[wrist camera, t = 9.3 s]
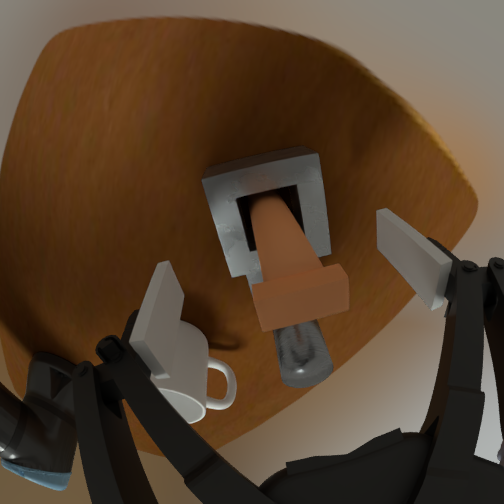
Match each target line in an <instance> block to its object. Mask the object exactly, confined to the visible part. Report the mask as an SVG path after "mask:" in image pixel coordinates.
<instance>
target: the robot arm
mask: <svg viewBox="0 0 504 504" xmlns="http://www.w3.org/2000/svg"><path fill="white" fill-rule="evenodd" d="M376 213H377V249H378V250H379V251H380V252H381V253H382V254H383V255H384V256H385V257H386V259H387V260H388V261H389V262H390V263H391V264H392V265H393V266H394V267H395V268H396V270H397V271H398V272H399V273H400V274H401V275H402V276H403V277H404V279H405V280H406V281H407V282H408V283H409V284H410V286H411V287H412V288H413V289H414V290H415V291H416V293H417V294H418V295H419V296H420V297H421V299H422V300H423V301H424V302H425V303H426V305H427V306H428V307H429V309H430V310H431V311H432V310H434V309H436V308H438V307H441V306H442V304H443V301H444V297H446V299H447V300H448V301H449V302H448V305H447V309H446V312H445V316H444V317H446V324H445V331H444V339H443V345H442V352H441V357H440V363H439V368H438V373H437V377H436V382H435V386H434V390H433V394H432V399H431V402H430V406H429V409H428V412H427V416H426V419H425V421H424V423H423V425H422V427H421V430H420V432H419V433H418V432H406V433H402V432H401V430H400V428H398V429H395V430H393V431H391V432H388V433H386V434H383V435H381V436H378V437H375V438H373V439H372V440H370V441H369V442H367V443H365V444H364V445H362V446H360V447H359V448H357V449H356V450H354V451H352V452H350V453H348V454H345V455H332V456H313V457H309V458H305V459H300V460H296V461H291V462H286V467H287V468H284V469H282V470H280V471H278V472H276V473H275V474H273V475H272V476H270V477H269V478H268V479H266V480H265V481H264V482H263V483H262V484H261V485H260V486H259V487H258V486H256V485H255V484H254V483H253V482H251V481H250V480H249V479H248V478H246V477H245V476H244V475H243V474H241V473H240V472H239V471H238V470H237V469H235V468H234V467H233V466H232V465H231V464H230V463H228V462H227V461H226V460H225V459H224V458H223V457H222V456H221V455H220V454H219V453H217V452H216V451H215V450H214V449H213V448H212V447H211V446H210V445H209V444H208V443H207V442H206V441H205V440H204V439H203V438H202V437H201V436H200V435H199V434H198V433H197V432H196V431H195V430H194V429H193V428H192V427H191V426H190V425H189V424H188V423H187V421H186V420H185V419H184V418H183V417H182V416H181V415H180V414H179V413H178V412H177V411H176V409H175V408H174V407H173V406H172V405H171V404H170V403H169V401H168V400H167V399H166V398H165V397H164V395H163V394H162V393H161V392H160V391H159V389H158V388H157V387H156V386H155V385H154V383H153V382H152V381H151V380H150V376H151V373H152V374H153V375H154V376H155V378H156V379H164V378H171V371H172V365H173V358H174V352H175V346H176V340H177V334H178V328H179V322H180V317H181V311H182V306H183V301H184V293H183V291H182V289H181V287H180V284H179V282H178V280H177V278H176V275H175V273H174V271H173V269H172V266H171V264H170V262H169V260H168V261H164V262H160V263H158V264H157V266H156V269H155V271H154V274H153V276H152V279H151V281H150V284H149V287H148V289H147V292H146V295H145V297H144V300H143V303H142V305H141V308H140V309H139V310H134V312H133V313H132V314H131V315H130V317H129V319H128V321H127V325H126V327H125V329H124V330H125V331H124V332H123V335H122V338H121V340H120V339H119V338H118V337H117V336H116V335H109V336H106V337H105V338H103V339H102V340H101V341H99V343H98V344H97V346H96V349H95V350H96V354H97V355H98V356H99V357H100V359H101V360H102V361H103V362H104V363H102V364H99V365H97V366H93V364H92V363H91V362H89V361H83V362H81V363H79V364H78V365H77V366H75V365H73V364H71V363H70V362H68V361H66V360H64V359H62V358H60V357H58V356H55V355H53V354H49V353H45V352H39V353H36V354H34V356H33V358H32V360H31V361H30V364H29V368H28V369H29V370H28V376H27V386H26V394H25V396H24V399H23V401H21V400H20V399H18V398H17V397H16V396H15V395H14V394H13V393H12V392H11V391H9V390H8V389H7V388H6V387H5V386H4V385H3V384H2V383H1V382H0V457H2V458H1V464H2V466H3V467H5V468H6V469H8V470H10V471H12V472H13V473H15V474H17V475H20V476H22V477H24V478H26V479H28V480H30V481H33V482H35V483H37V484H40V485H43V486H46V487H48V488H51V489H55V490H59V491H60V490H64V489H66V487H67V485H68V481H69V478H70V475H71V474H72V472H71V470H72V465H73V460H74V455H75V451H76V447H77V443H79V449H80V455H81V460H82V465H83V469H84V474H85V478H86V483H87V487H88V491H89V494H90V498H91V501H92V504H158V502H157V499H156V497H155V495H154V493H153V491H152V488H151V486H150V484H149V481H148V479H147V476H146V474H145V471H144V469H143V466H142V464H141V461H140V458H139V456H138V453H137V450H136V447H135V444H134V441H133V438H132V435H131V431H130V428H129V425H128V421H127V418H126V414H125V411H124V407H123V403H122V399H125V400H126V401H127V403H128V404H129V406H130V408H131V409H132V411H133V412H134V414H135V415H136V417H137V418H138V420H139V421H140V423H141V424H142V426H143V427H144V428H145V430H146V431H147V433H148V434H149V435H150V437H151V438H152V440H153V441H154V442H155V444H156V445H157V446H158V447H159V449H160V450H161V451H162V453H163V454H164V455H165V456H166V458H167V459H168V460H169V461H170V462H171V464H172V465H173V466H174V467H175V468H176V469H177V471H178V472H179V473H180V474H181V475H182V477H183V478H184V483H185V484H186V486H187V487H188V488H189V489H190V490H191V492H192V493H193V494H194V495H195V496H196V497H197V498H198V499H199V500H200V501H201V502H202V503H203V504H504V260H503V259H501V258H497V257H494V258H491V259H490V260H489V263H488V267H478V266H477V265H476V264H475V263H474V262H472V261H468V260H467V261H466V260H463V261H460V260H459V259H458V258H457V257H456V256H454V255H453V254H452V253H451V252H450V251H449V250H447V249H446V248H445V247H444V246H442V245H441V244H440V243H439V242H438V241H436V240H434V239H432V238H429V237H428V238H425V237H424V236H423V235H421V234H420V233H419V232H418V231H416V230H415V229H414V228H413V227H411V226H410V225H409V224H407V223H406V222H405V221H403V220H402V219H401V218H399V217H398V216H397V215H395V214H394V213H393V212H391V211H390V210H389V209H387V208H384V209H380V210H376ZM484 328H485V332H486V335H487V339H488V343H489V348H490V352H491V357H492V362H493V367H494V373H495V380H496V387H497V394H498V403H499V414H500V425H501V432H502V438H503V442H502V444H501V448H500V450H499V451H498V455H497V457H498V460H499V461H500V464H497V463H494V462H491V461H489V460H486V459H484V458H481V457H478V456H476V455H474V452H475V448H476V444H477V440H478V436H479V431H480V426H481V421H482V415H483V409H484V402H485V393H484V392H481V379H482V367H483V349H484Z"/></svg>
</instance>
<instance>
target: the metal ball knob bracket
mask: <svg viewBox="0 0 504 504" xmlns="http://www.w3.org/2000/svg"><path fill="white" fill-rule="evenodd" d="M201 180H202V184H203V187H204V190H205V194H206V197H207V200H208V204H209V207H210V210H211V213H212V217H213V220H214V223H215V226H216V229H217V233H218V236H219V239H220V242H221V245H222V248H223V251H224V255H225V258H226V261H227V264H228V267H229V270H230V273H231V276H232V278H233V277H237V276H241V275H246V276H247V280H248V283H249V286H250V290H251V293H252V286H251V285H252V284H257V283H261V282H263V277H262V272H261V267H260V262H259V257H258V252H257V247H256V242H255V237H254V232H253V227H251V228H247V227H246V224H245V220H244V216H243V212H242V208H241V205H240V201H239V197H242V196H246V195H250V194H254V193H259V192H263V191H267V190H272V189H276V188H281V187H285V186H288V187H289V192H290V198H291V203H292V208H293V214H294V218H295V220H296V221H297V223H298V225H299V226H300V228H301V229H302V231H303V233H304V234H305V236H306V238H307V239H308V241H309V243H310V244H311V246H312V248H313V250H314V251H315V253H316V255H317V256H318V257H321V256H326V255H330V254H331V245H330V235H329V226H328V217H327V209H326V201H325V193H324V186H323V179H322V173H321V166H320V160H319V154H318V153H317V152H315V151H313V150H311V149H309V148H307V147H305V146H303V145H302V146H297V147H291V148H286V149H281V150H276V151H272V152H267V153H262V154H258V155H254V156H249V157H245V158H241V159H237V160H233V161H229V162H225V163H221V164H217V165H214V166H210V167H207V168H206V170H205V172H204V175H203V177H202V179H201ZM252 296H253V294H252ZM273 333H274V339H275V344H276V350H277V356H278V361H279V367H280V372H281V378H282V381H283V383H284V384H286V385H287V386H290V387H294V388H304V387H310V386H313V385H316V384H318V383H320V382H322V381H324V380H325V379H326V378H327V377H329V375H330V374H331V373H332V371H333V364H332V361H331V358H330V355H329V352H328V349H327V346H326V344H325V341H324V338H323V335H322V332H321V330H320V327H319V324H318V321H317V319H315V320H311V321H308V322H304V323H300V324H296V325H292V326H288V327H283V328H279V329H275V330H273Z"/></svg>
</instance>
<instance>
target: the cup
mask: <svg viewBox="0 0 504 504" xmlns="http://www.w3.org/2000/svg"><path fill="white" fill-rule="evenodd" d="M208 367H212V368H216V369H219V370H220V371H222V372H223V373H224V374H225V375H226V378H227V382H228V389H227V394H226V396H225V398H224V399H222V400H219V399H214V398H211V397H208V396H206V390H207V369H208ZM150 380H151V381H152V382H153V383H154V385H155V386H156V387H157V388H158V389H159V391H160V392H161V393H162V394H163V395H164V397H165V398H166V399H167V400H168V401H169V403H170V404H171V405H172V406H173V407H174V408H175V409H176V411H177V412H178V413H179V414H180V415H181V416H182V417H183V418H184V419H185V420H186V421H187V423H188V424H189V423H194V422H197V421H199V420H201V419H202V418H203V417H204V416H205V413H206V407H207V408H212V409H225V408H227V407H229V406H230V405H231V404H232V403H233V401H234V399H235V395H236V388H237V384H236V378H235V375H234V372H233V371H232V369H231V368H230V367H229V366H228V365H227V364H226V363H224V362H223V361H221V360H218V359H215V358H212V357H208V342H207V339H206V337H205V336H204V334H203V333H202V332H201V331H200V330H199V329H198V328H197V327H195V326H194V325H192V324H190V323H187V322H185V321H181V320H180V322H179V328H178V334H177V340H176V346H175V352H174V358H173V365H172V371H171V378H164V379H156V378H155V376H154V375H153V374H152V373H151V376H150Z"/></svg>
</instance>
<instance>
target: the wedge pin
mask: <svg viewBox="0 0 504 504" xmlns="http://www.w3.org/2000/svg"><path fill="white" fill-rule="evenodd" d="M248 207H249V212H250V217H251V222H252V227H253V232H254V237H255V242H256V247H257V252H258V257H259V262H260V267H261V272H262V277H263V282H261V283H257V284H252V285H251V286H252V294H253V301H254V305H255V308H256V312H257V315H258V318H259V322H260V325H261V329H262V332H266V331H270V330H275V329H279V328H283V327H288V326H292V325H296V324H300V323H304V322H308V321H311V320H315V319H319V318H323V317H326V316H330V315H333V314H337V313H340V312H344V311H347V310H349V277H348V276H347V274H346V273H345V271H344V270H343V268H342V267H341V265H340V264H339V263H338V264H334V265H330V266H326V267H323V265H322V263H321V262H320V260H319V258H318V256H317V255H316V253H315V251H314V250H313V248H312V246H311V244H310V243H309V241H308V239H307V238H306V236H305V234H304V233H303V231H302V229H301V228H300V226H299V225H298V223H297V221H296V220H295V218H294V216H293V215H292V213H291V212H290V210H289V208H288V207H287V205H286V203H285V202H284V200H283V199H282V197H281V196H280V194H279V192H278V191H277V190H276V189H272V190H267V191H263V192H259V193H254V194H250V195H248Z"/></svg>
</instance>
